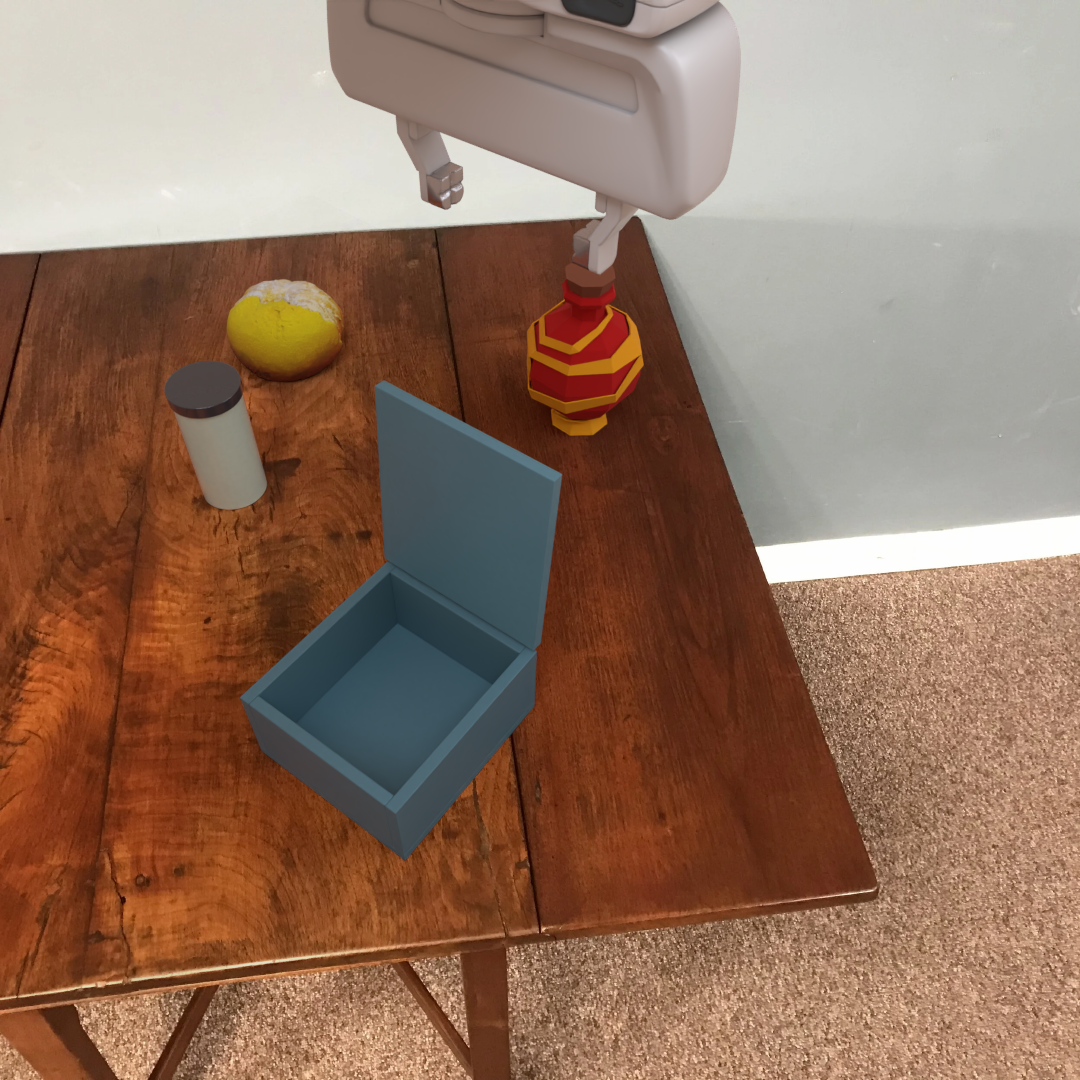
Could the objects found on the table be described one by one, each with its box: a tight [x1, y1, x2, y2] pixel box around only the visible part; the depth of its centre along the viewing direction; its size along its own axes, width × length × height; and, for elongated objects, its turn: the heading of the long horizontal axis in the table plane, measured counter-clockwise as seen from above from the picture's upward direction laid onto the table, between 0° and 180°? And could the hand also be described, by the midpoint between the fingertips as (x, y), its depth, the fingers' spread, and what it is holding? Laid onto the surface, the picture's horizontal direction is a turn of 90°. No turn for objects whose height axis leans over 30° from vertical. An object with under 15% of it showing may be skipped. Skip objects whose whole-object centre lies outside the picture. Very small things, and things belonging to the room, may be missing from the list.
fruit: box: [226, 278, 345, 382], centre depth 87 cm, size 11×10×8 cm
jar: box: [163, 360, 268, 511], centre depth 74 cm, size 6×6×11 cm
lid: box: [374, 380, 563, 651], centre depth 57 cm, size 14×13×1 cm
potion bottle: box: [526, 261, 645, 437], centre depth 79 cm, size 10×10×15 cm
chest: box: [239, 560, 538, 861], centre depth 61 cm, size 14×13×7 cm
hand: (515, 232), depth 47 cm, fingers open, 8 cm apart
